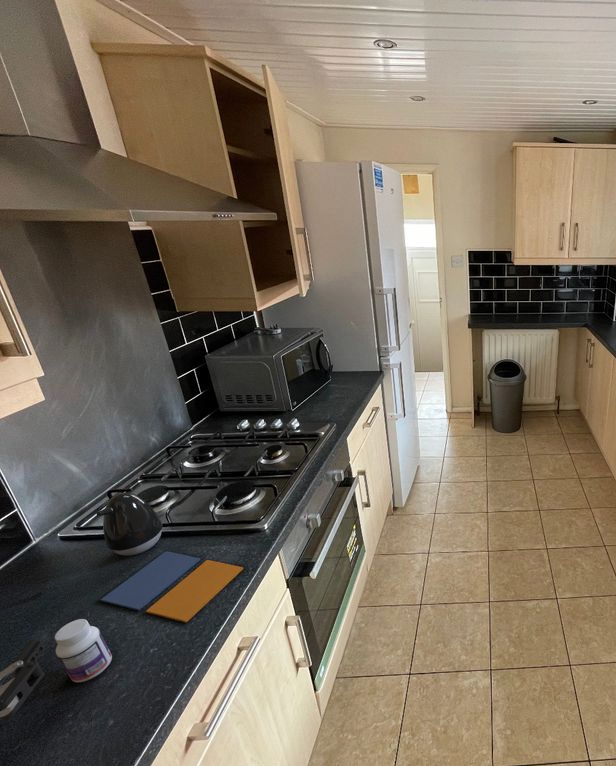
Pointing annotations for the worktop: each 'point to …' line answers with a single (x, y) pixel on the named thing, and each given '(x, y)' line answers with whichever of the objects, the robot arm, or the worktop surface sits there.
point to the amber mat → (195, 591)
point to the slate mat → (150, 580)
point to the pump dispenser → (130, 524)
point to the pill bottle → (82, 650)
